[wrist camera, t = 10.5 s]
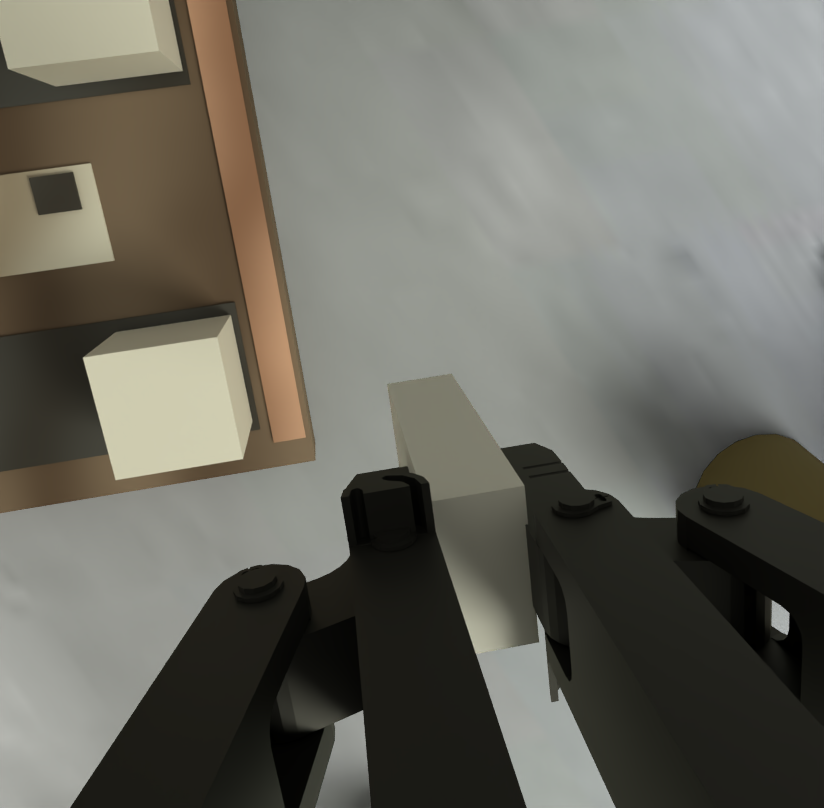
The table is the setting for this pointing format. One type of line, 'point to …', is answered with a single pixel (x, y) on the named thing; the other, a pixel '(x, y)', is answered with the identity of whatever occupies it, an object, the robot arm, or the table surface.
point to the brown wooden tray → (136, 255)
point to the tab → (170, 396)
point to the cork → (772, 472)
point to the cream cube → (88, 39)
